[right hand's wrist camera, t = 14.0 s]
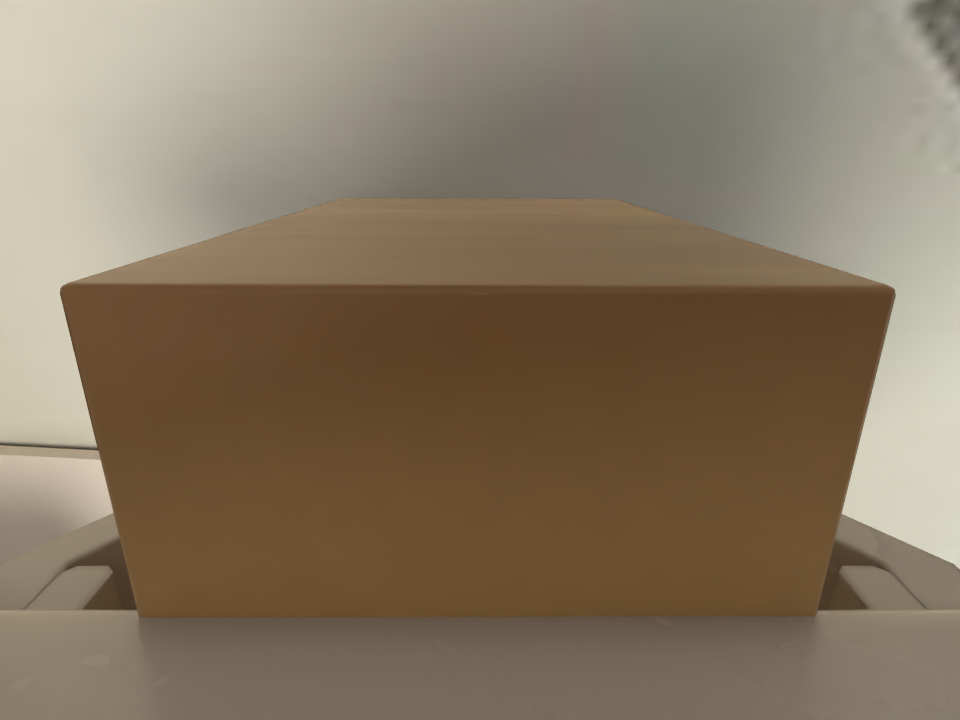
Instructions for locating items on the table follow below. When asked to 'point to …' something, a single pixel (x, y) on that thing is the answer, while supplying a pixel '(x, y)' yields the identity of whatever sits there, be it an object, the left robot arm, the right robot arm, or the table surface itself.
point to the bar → (477, 413)
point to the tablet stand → (48, 495)
